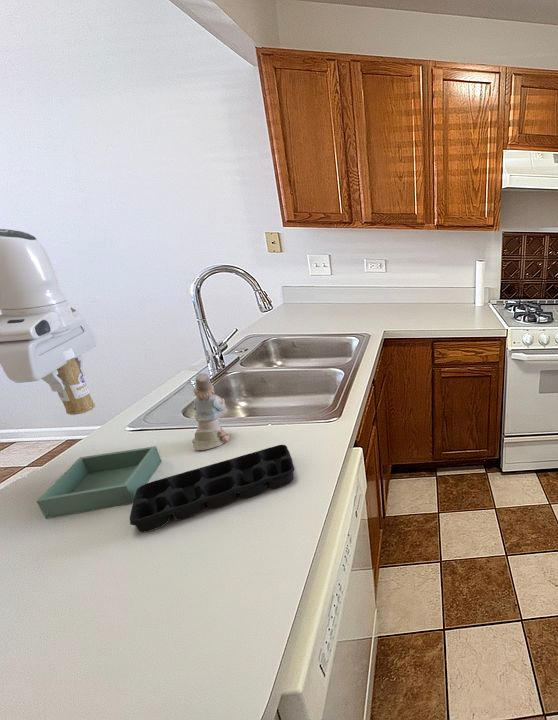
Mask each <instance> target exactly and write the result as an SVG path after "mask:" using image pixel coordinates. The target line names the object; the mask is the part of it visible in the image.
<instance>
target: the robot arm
mask: <svg viewBox="0 0 558 720" xmlns="http://www.w3.org/2000/svg"><path fill="white" fill-rule="evenodd" d="M0 312H1V314H0V366H1V368H2V370H3V372H4V374H5V375H6V377H7V378H8V379H9V380H10V381H12V382H14V383H16V384H18V383H19V384H22V383H32V382H39V381H40V380H42V381H43V382H45V383H46V384H48V385H49V387H50V389H51V391H52V392H56V393H57V391H62V390H64V389H65V388H67V384H66V381H65V380H61V379H60V378H59V377H58V376H57V375H58V371H57V369H58V368H60V367H62V366H63V365H65V364H66V362H67V361H66V360H65V358H64V355H63V352H64V351H66V350H68V349H70V348H71V349H72V350H73V352H74V355H75V357H74V358H75V360H76V363H77V365H78V367H79V370H80V372H81V374H82V376H83V377H84V376H85V372H84V370H83V366H84V365H83V363H84V358H83V356H82V355H83V354H85V353H87V352H89V351H90V350H92V349H93V348H95V347H96V346H97V338H96V335H95V334H94V332H93V330H92V328H91V326H90V324H89V322H88V320H87V319H86V317H84V316H82V315H81V314H80V312H79V310H76V309H75V308H73V307H71V306H70V303H69V300H68V298H67V296H66V294H64V293H63V292H62V290H61V288H60V284H59V276H58V273H57V271H56V268H55V266H54V264H53V262H52V260H51V258H50V256H49V254H48V252H47V251H46V249H45V247H44V246H43V244H42V243H41V241H40V240H39V239H38V238H37V237H35V236H34V235H32V234H30V233H27V232H24V231H21V230H16V229H15V230H14V229H8V228H7V229H6V228H0Z"/></svg>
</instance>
